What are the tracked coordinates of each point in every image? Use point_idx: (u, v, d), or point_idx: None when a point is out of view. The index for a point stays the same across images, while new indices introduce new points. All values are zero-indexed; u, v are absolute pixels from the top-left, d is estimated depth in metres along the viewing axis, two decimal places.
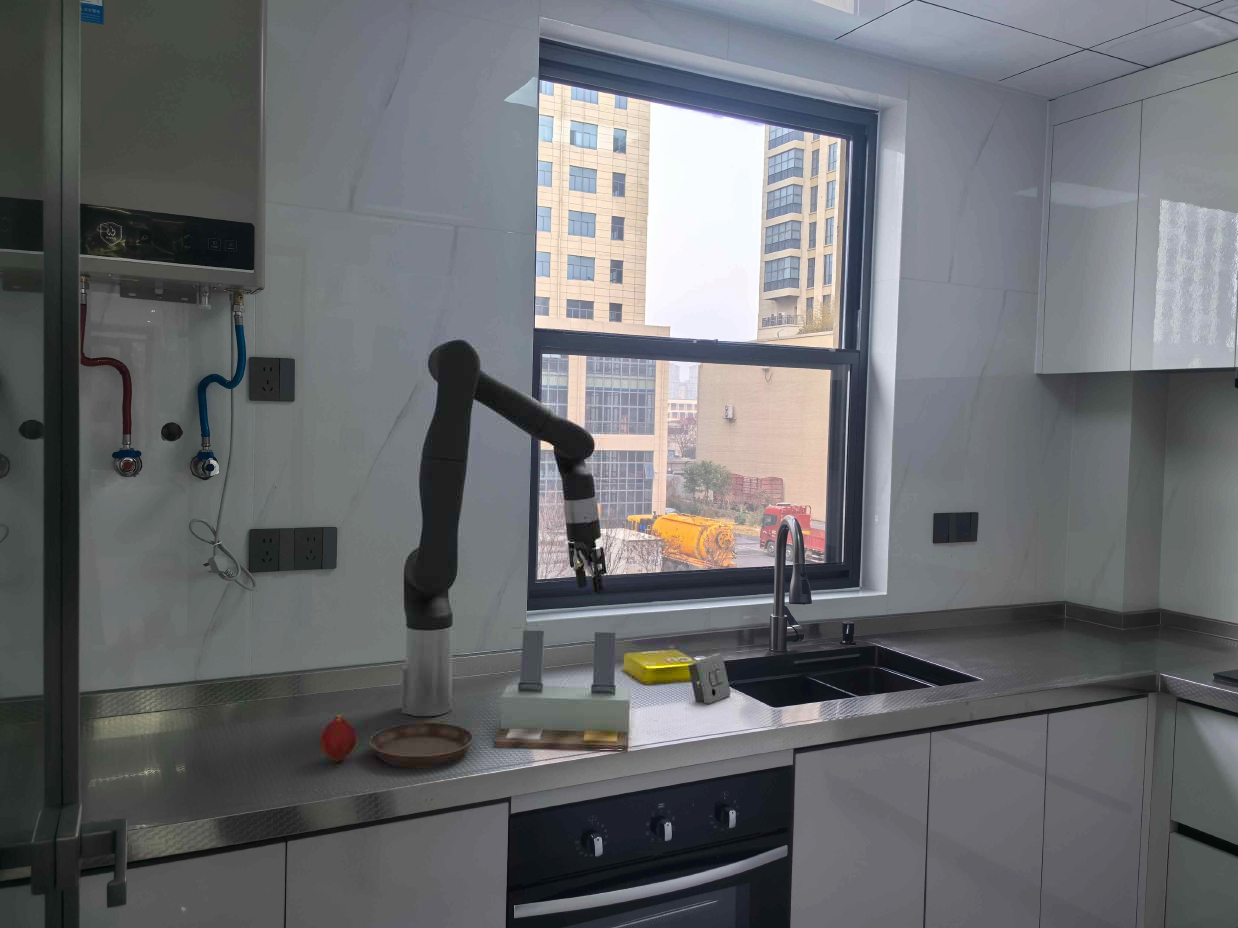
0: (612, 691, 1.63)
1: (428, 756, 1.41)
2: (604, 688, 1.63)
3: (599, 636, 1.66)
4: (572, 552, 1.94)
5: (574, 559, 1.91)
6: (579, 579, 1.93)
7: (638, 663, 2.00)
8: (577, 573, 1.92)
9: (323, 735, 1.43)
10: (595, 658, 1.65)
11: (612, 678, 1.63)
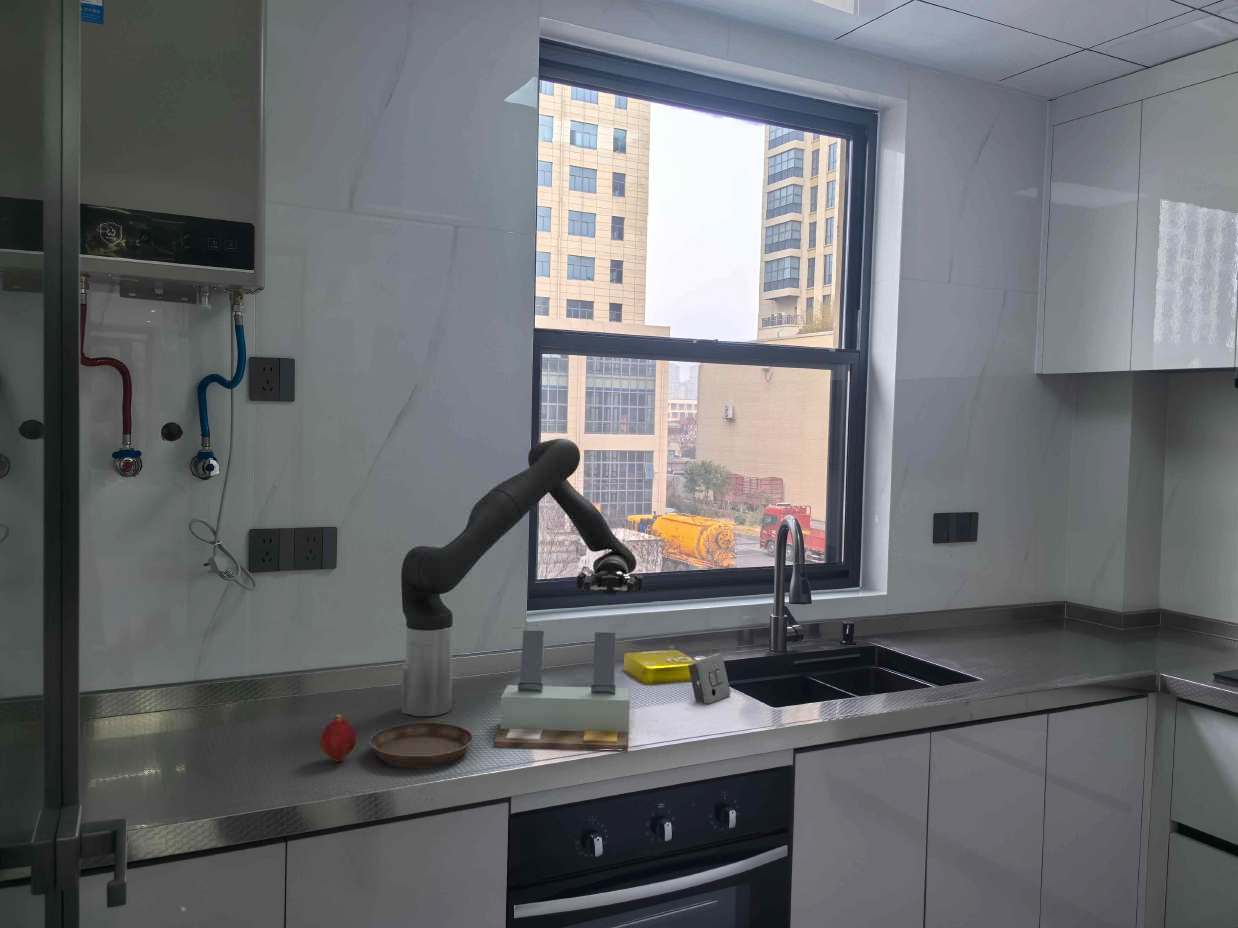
0: (612, 691, 1.63)
1: (428, 756, 1.41)
2: (604, 688, 1.63)
3: (599, 636, 1.66)
4: (584, 576, 1.86)
5: (597, 573, 1.85)
6: (590, 582, 1.80)
7: (638, 663, 2.00)
8: (590, 579, 1.82)
9: (323, 735, 1.43)
10: (595, 658, 1.65)
11: (612, 678, 1.63)
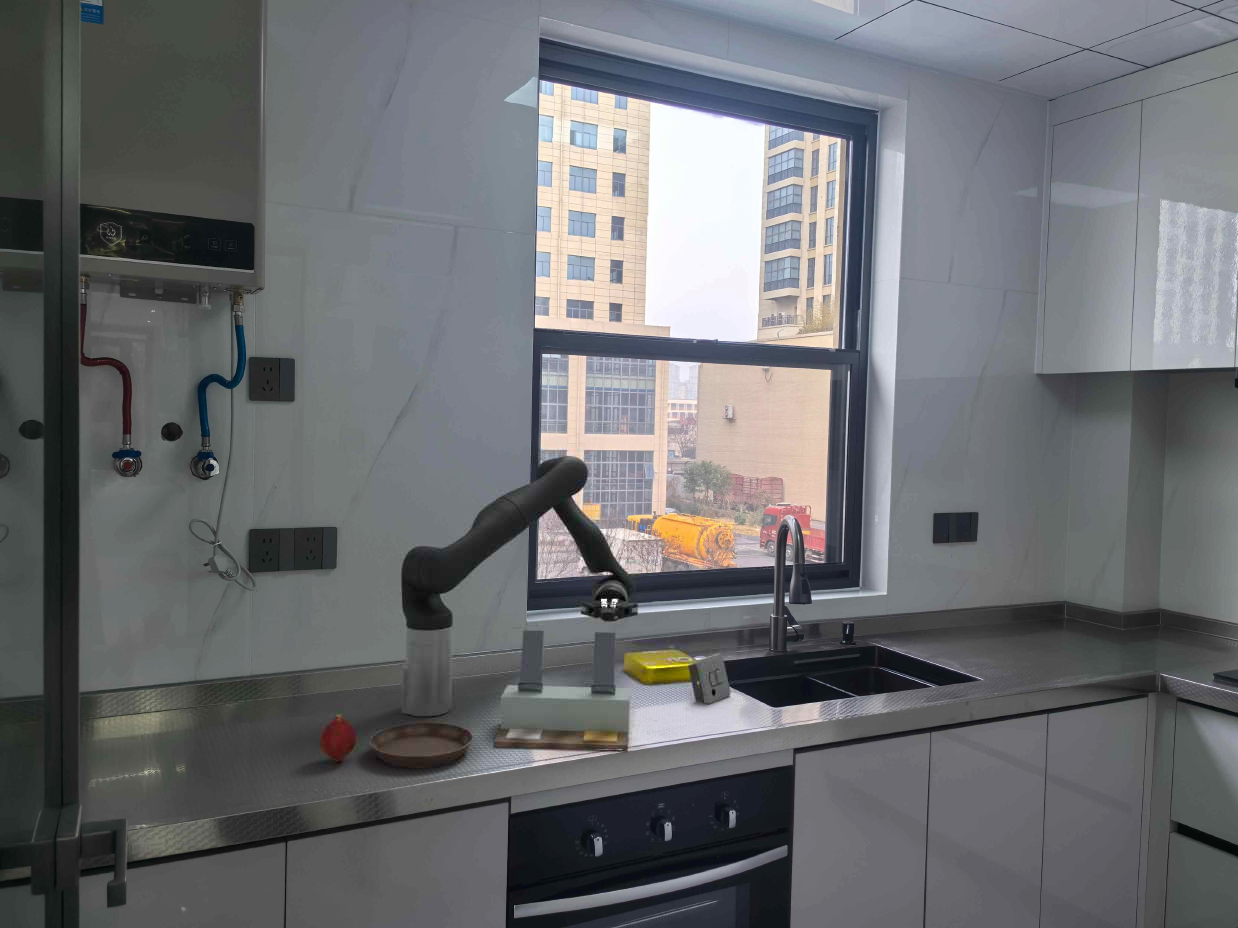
0: (612, 691, 1.63)
1: (428, 756, 1.41)
2: (604, 688, 1.63)
3: (599, 636, 1.66)
4: None
5: (604, 601, 1.83)
6: None
7: (639, 663, 2.00)
8: None
9: (323, 735, 1.43)
10: (595, 658, 1.65)
11: (612, 678, 1.63)
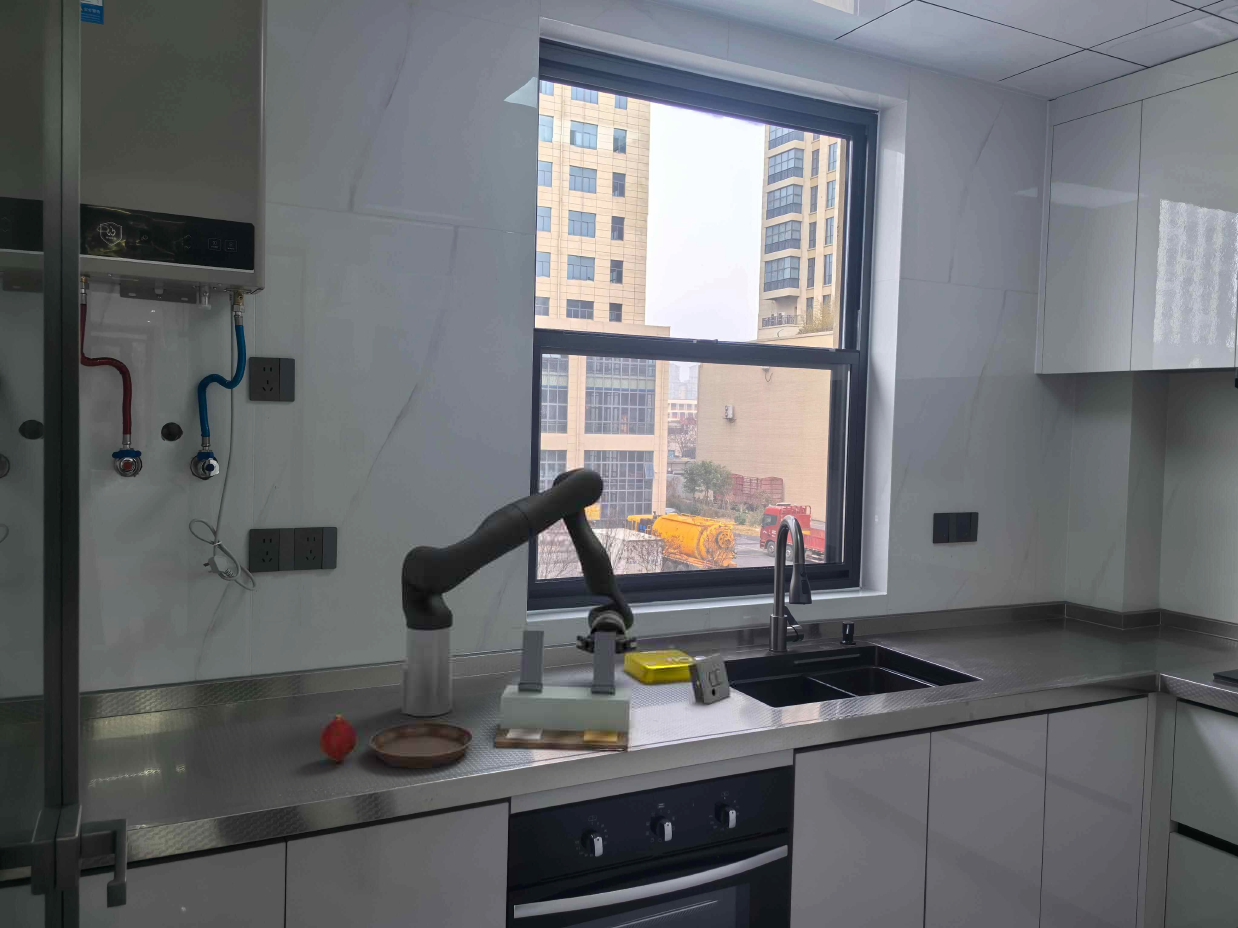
0: (612, 691, 1.63)
1: (428, 756, 1.41)
2: (604, 688, 1.63)
3: (599, 636, 1.66)
4: None
5: None
6: None
7: (639, 663, 2.00)
8: None
9: (323, 735, 1.43)
10: (595, 658, 1.65)
11: (612, 678, 1.63)
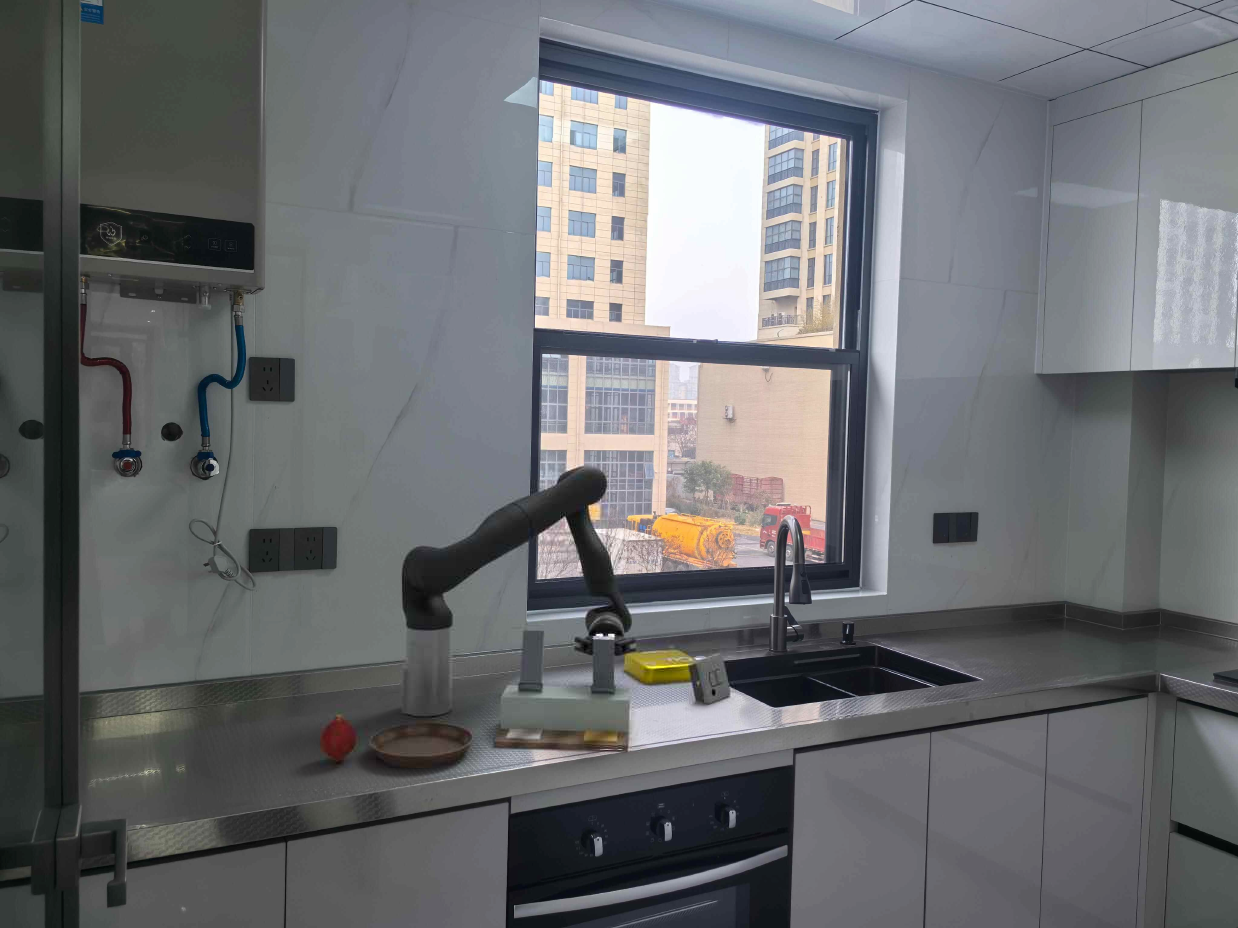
0: (612, 692, 1.63)
1: (428, 756, 1.41)
2: (604, 690, 1.63)
3: (597, 643, 1.60)
4: None
5: None
6: None
7: (639, 663, 2.00)
8: None
9: (323, 735, 1.43)
10: (594, 663, 1.61)
11: (612, 681, 1.62)
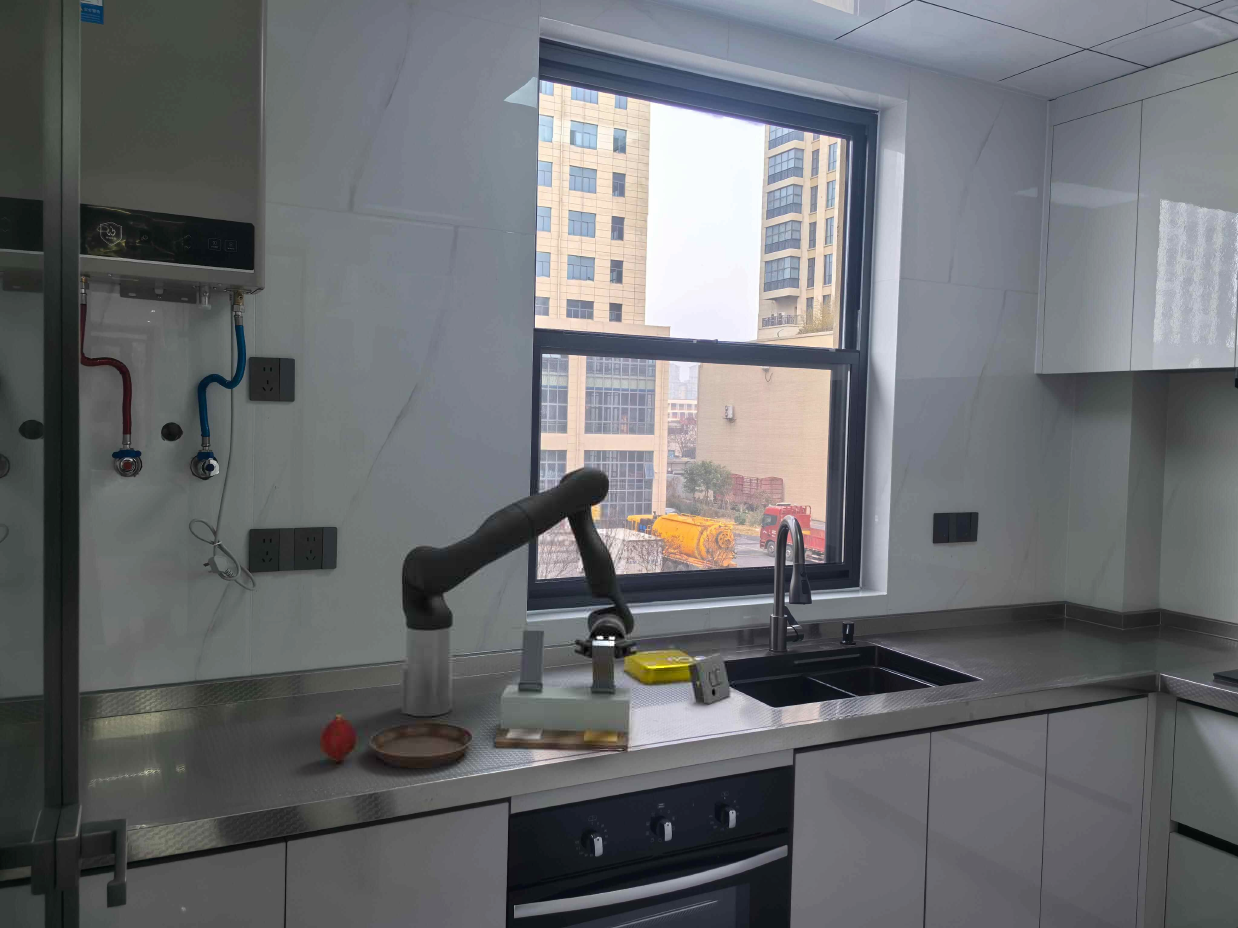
0: None
1: (428, 756, 1.41)
2: (604, 691, 1.63)
3: (597, 648, 1.59)
4: None
5: (600, 639, 1.69)
6: None
7: (639, 663, 2.00)
8: None
9: (323, 735, 1.43)
10: (594, 667, 1.60)
11: (612, 683, 1.62)
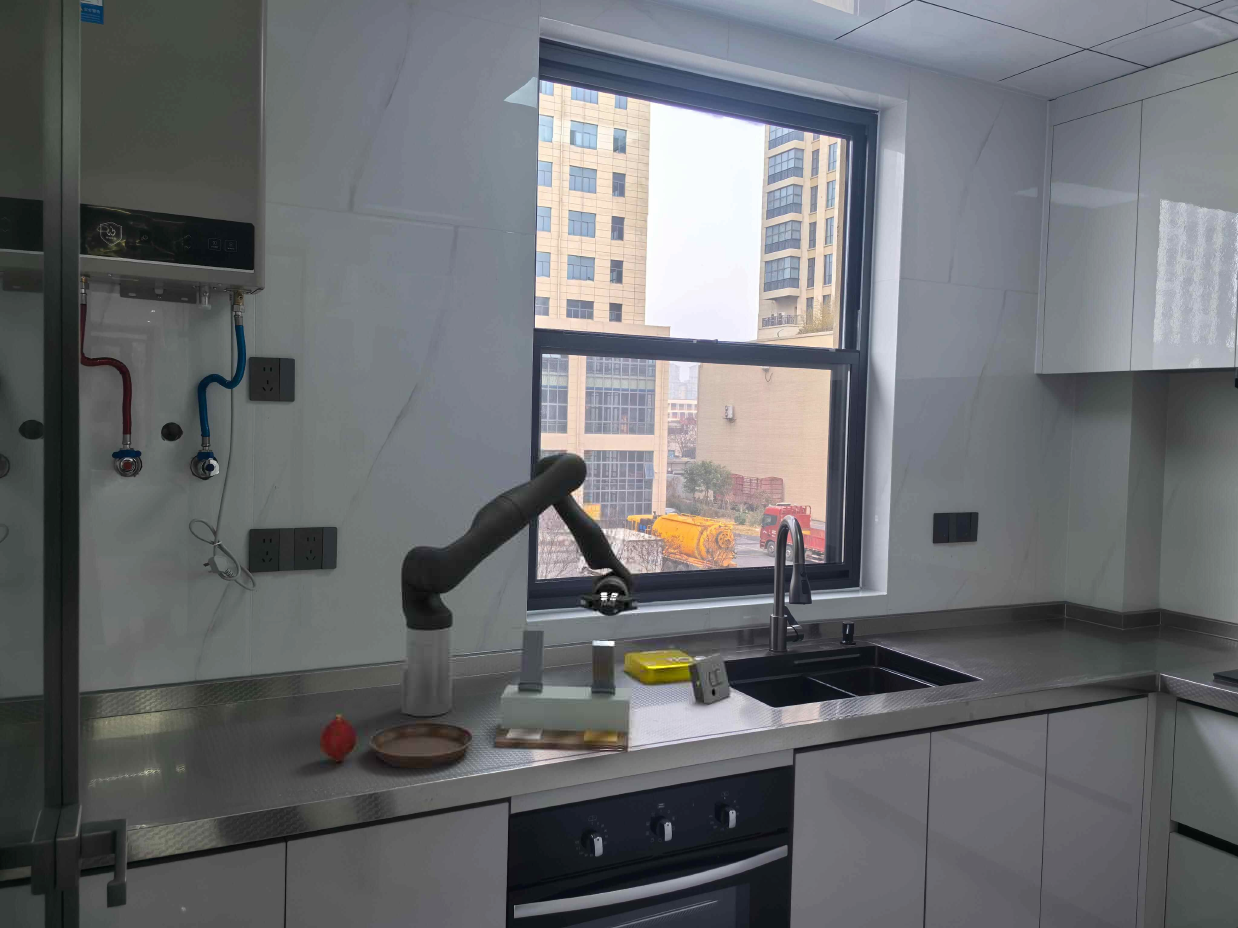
0: None
1: (428, 756, 1.41)
2: (604, 691, 1.63)
3: (597, 648, 1.59)
4: None
5: (603, 595, 1.83)
6: None
7: (639, 663, 2.00)
8: (607, 602, 1.79)
9: (323, 735, 1.43)
10: (594, 667, 1.60)
11: (612, 683, 1.62)
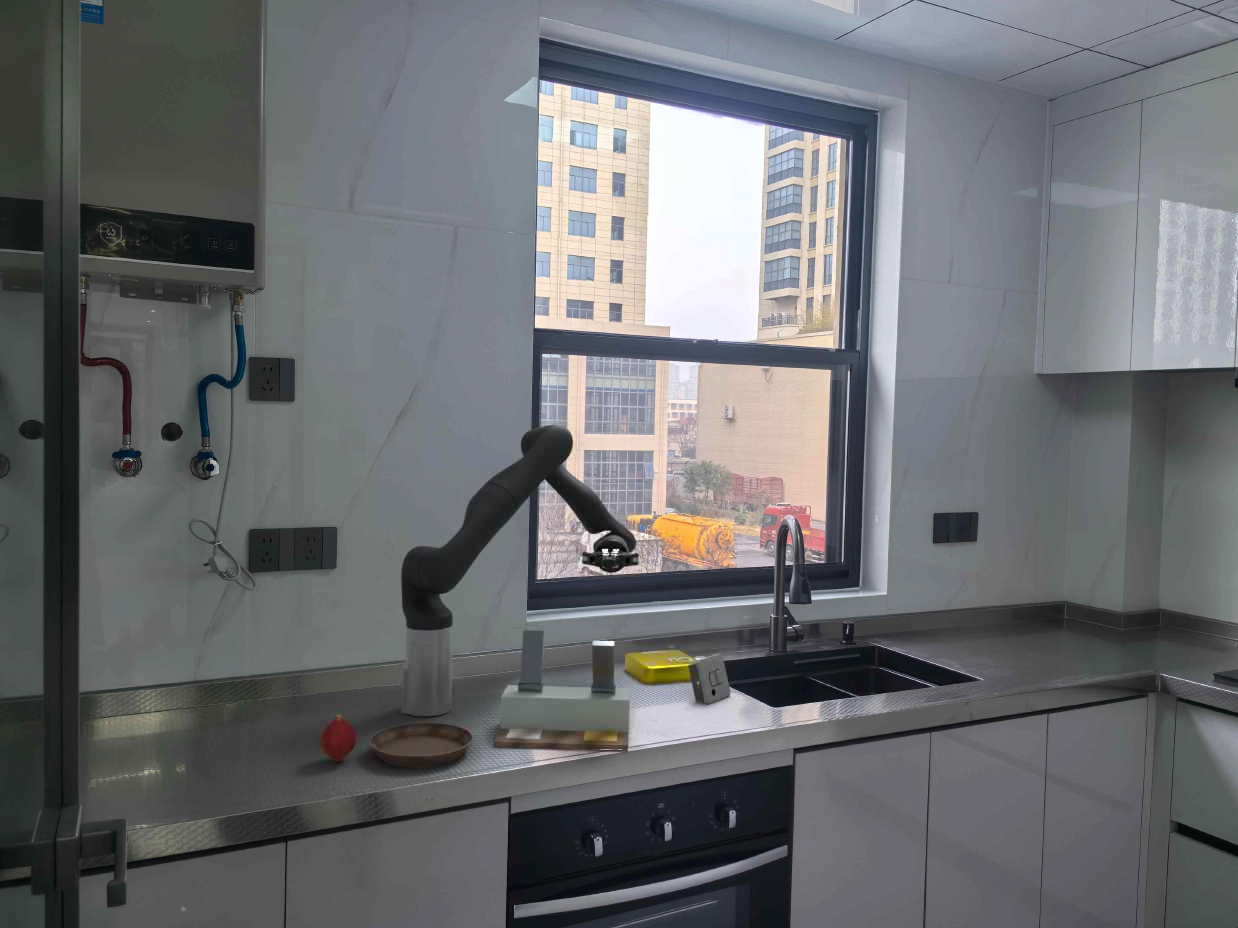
0: None
1: (428, 756, 1.41)
2: (604, 691, 1.63)
3: (597, 648, 1.59)
4: None
5: (605, 551, 1.84)
6: None
7: (640, 663, 2.00)
8: (609, 557, 1.80)
9: (323, 735, 1.43)
10: (594, 667, 1.60)
11: (612, 683, 1.62)
